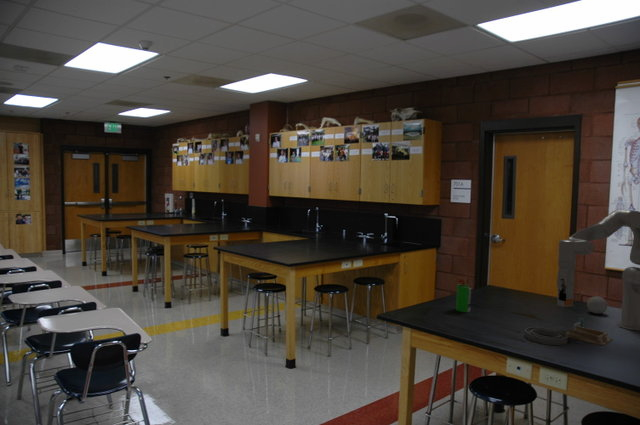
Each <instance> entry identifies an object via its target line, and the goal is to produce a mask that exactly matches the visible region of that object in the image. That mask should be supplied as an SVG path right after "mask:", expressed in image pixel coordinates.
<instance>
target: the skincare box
mask: <svg viewBox="0 0 640 425" xmlns="http://www.w3.org/2000/svg"><path fill="white" fill-rule="evenodd" d="M563 287H565V285H563ZM574 287H575V283H571V284H570V287H568V288H566V301H561V300H559V287H558V286H557V304H556V305H557V306H559V307H564V308H565V307H574ZM563 289H564V288H563Z"/></svg>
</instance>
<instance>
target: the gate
mask: <svg viewBox="0 0 640 425" xmlns="http://www.w3.org/2000/svg"><path fill="white" fill-rule="evenodd" d="M584 324H585V318H582V317H579V318H578V322H576V323H574V324H572V327H571V328H572V329H571V330H576V326H580V327H584ZM584 328H585V327H584Z"/></svg>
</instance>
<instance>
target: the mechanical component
mask: <svg viewBox="0 0 640 425" xmlns="http://www.w3.org/2000/svg"><path fill="white" fill-rule="evenodd" d="M565 333H566V332H563V331H560V330H558V329H553V328H548V327H541V326H531V327H530V326H529V327H526V328H525V329H524V337H525V338H526V339H528V340H530V341H532V342H535V343H540V344H543V345H550V346H561V345H562V346H564V345H567V344H568V339H569V338H568V335H566V334H565Z"/></svg>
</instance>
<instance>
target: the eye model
mask: <svg viewBox="0 0 640 425" xmlns="http://www.w3.org/2000/svg"><path fill="white" fill-rule="evenodd" d="M586 305H587V309H588V310H589V311H590V312H591V313H593V314H596V315H599V314H600V315H601V314H603V313H605V312H606V311H607V309H608V302H607V301H606V300H605V299H604V298H603V297H601V296H597V295H596V296H591V297H590V298H589V299H588V300H587V302H586Z"/></svg>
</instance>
